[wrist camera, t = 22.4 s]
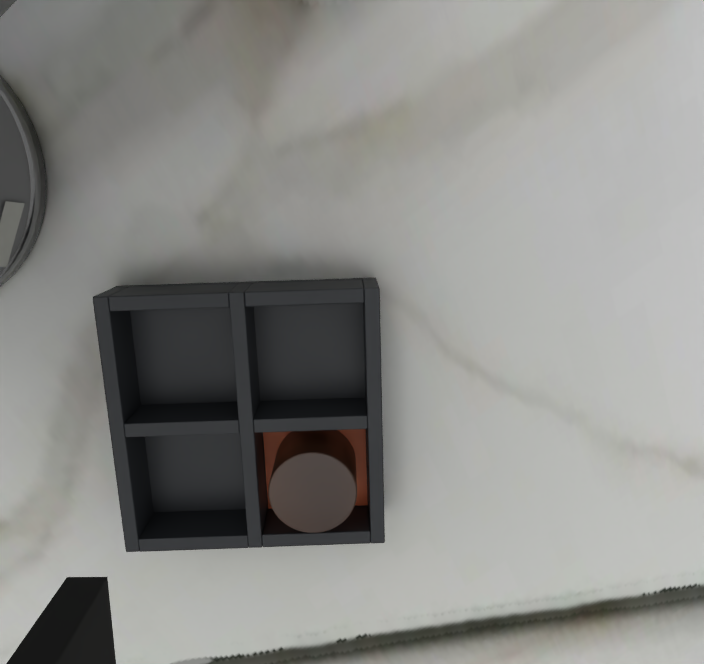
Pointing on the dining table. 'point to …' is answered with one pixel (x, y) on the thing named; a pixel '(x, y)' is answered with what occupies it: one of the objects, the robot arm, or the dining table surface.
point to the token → (313, 480)
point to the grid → (237, 404)
